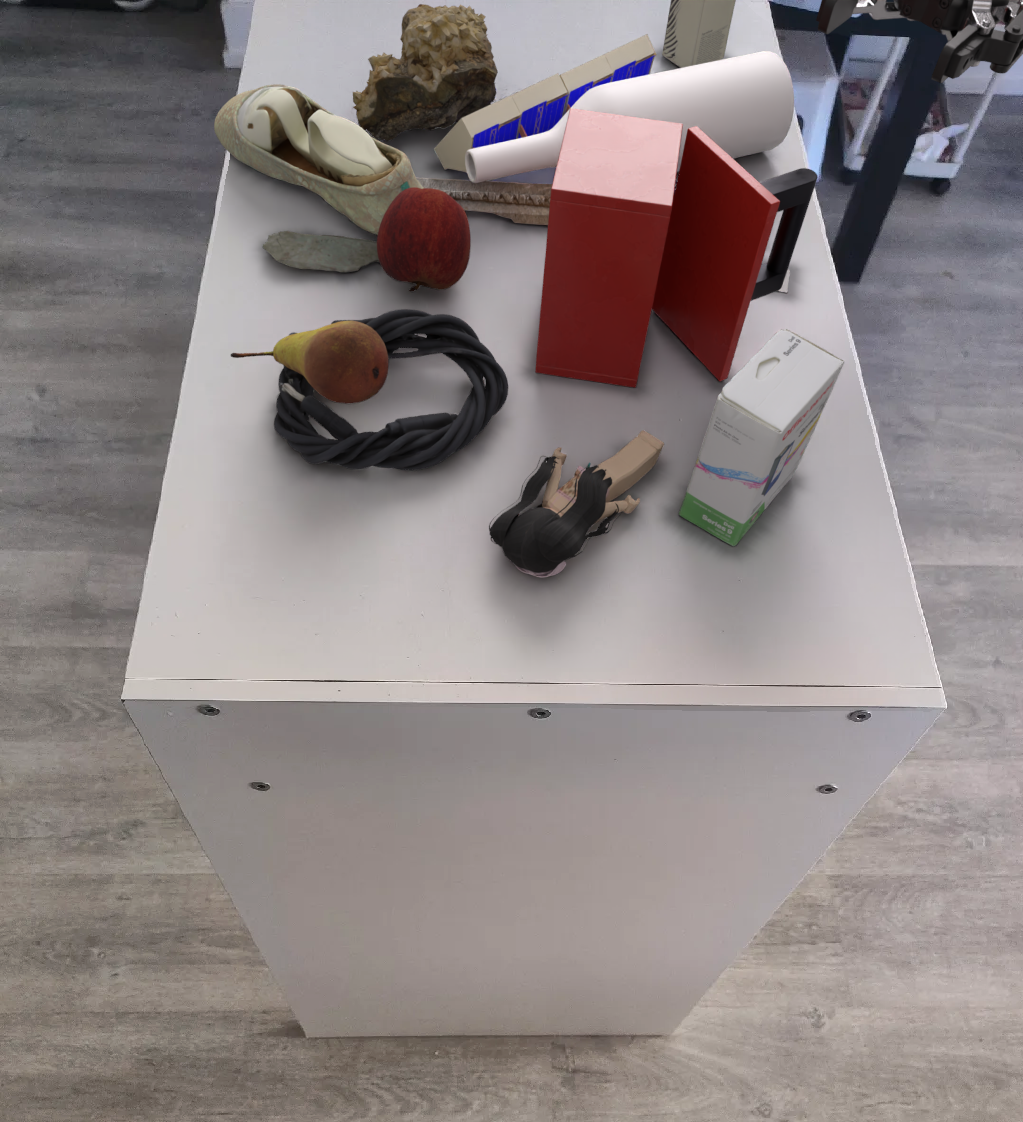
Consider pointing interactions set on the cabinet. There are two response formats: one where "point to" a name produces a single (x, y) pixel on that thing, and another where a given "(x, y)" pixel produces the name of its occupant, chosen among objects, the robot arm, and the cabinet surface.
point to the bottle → (670, 112)
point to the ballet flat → (314, 151)
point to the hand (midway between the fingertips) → (882, 40)
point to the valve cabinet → (605, 244)
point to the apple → (424, 239)
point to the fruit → (335, 360)
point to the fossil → (498, 198)
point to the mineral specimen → (429, 74)
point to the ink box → (758, 434)
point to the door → (724, 247)
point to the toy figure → (571, 507)
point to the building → (542, 102)
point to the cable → (404, 438)
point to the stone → (321, 251)
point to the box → (697, 31)
